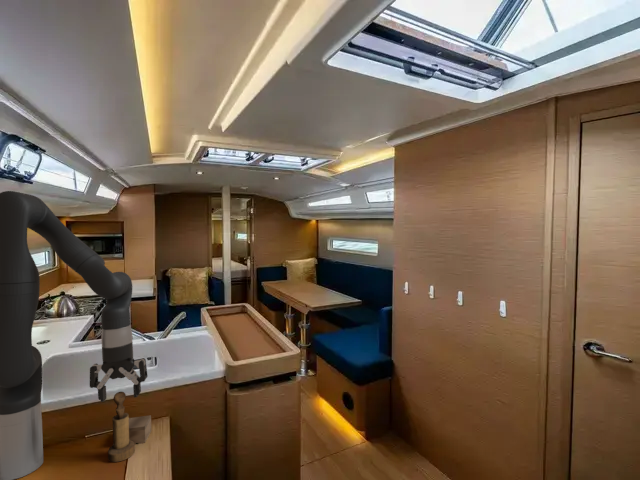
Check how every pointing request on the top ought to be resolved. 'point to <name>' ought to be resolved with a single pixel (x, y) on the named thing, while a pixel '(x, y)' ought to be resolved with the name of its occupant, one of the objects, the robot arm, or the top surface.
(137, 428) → the walnut stand
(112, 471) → the top surface
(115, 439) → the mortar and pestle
